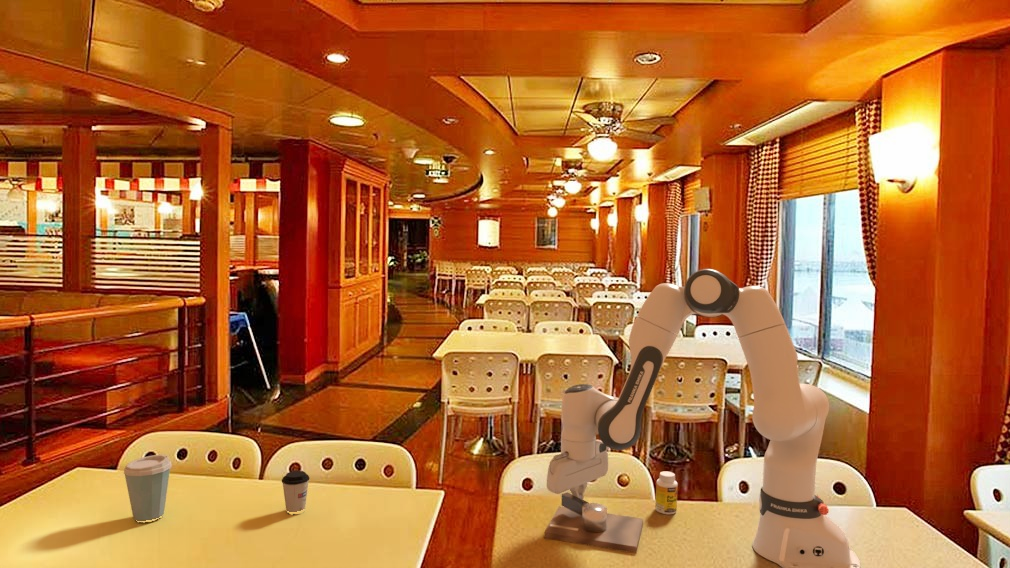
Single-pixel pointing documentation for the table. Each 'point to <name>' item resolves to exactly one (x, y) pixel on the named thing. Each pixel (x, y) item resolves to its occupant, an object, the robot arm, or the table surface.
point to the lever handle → (587, 512)
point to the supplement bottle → (666, 493)
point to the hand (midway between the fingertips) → (577, 500)
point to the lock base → (616, 536)
